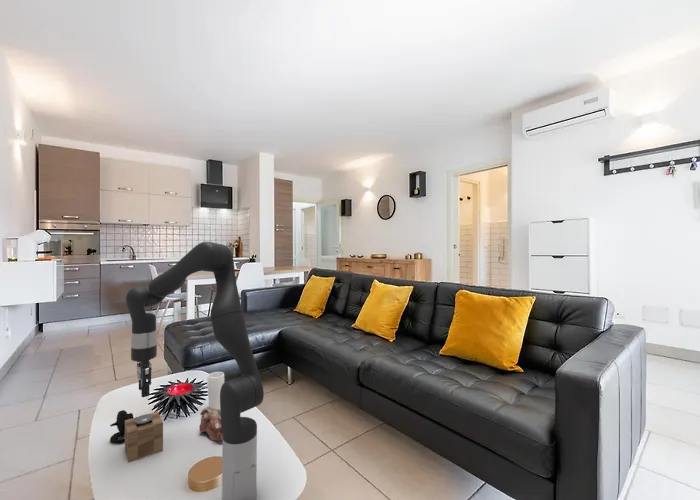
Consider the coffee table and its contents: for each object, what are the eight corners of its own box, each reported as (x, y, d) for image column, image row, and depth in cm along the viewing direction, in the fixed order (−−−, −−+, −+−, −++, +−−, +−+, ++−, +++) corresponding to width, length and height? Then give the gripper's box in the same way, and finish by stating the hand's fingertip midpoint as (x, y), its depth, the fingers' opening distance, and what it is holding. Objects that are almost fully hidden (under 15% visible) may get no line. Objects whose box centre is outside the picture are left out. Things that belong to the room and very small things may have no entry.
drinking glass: (203, 411, 138) (203, 376, 138) (214, 404, 145) (214, 370, 145) (216, 414, 136) (217, 378, 136) (227, 406, 143) (227, 372, 143)
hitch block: (162, 450, 112) (163, 423, 112) (127, 462, 106) (127, 433, 106) (157, 437, 120) (157, 411, 120) (124, 447, 114) (124, 420, 113)
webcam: (137, 438, 119) (138, 411, 119) (113, 447, 114) (113, 418, 113) (131, 430, 124) (131, 403, 124) (107, 438, 119) (107, 411, 119)
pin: (153, 448, 113) (153, 418, 113) (135, 453, 110) (136, 423, 109) (150, 441, 117) (151, 412, 116) (134, 446, 113) (134, 417, 113)
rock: (203, 398, 131) (240, 393, 130) (208, 424, 132) (245, 419, 131) (182, 421, 116) (224, 415, 115) (188, 450, 116) (229, 445, 116)
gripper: (160, 347, 109) (160, 397, 109) (153, 337, 120) (152, 383, 121) (133, 351, 104) (133, 404, 105) (128, 341, 116) (128, 388, 116)
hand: (143, 392), depth 113 cm, fingers open, 6 cm apart
